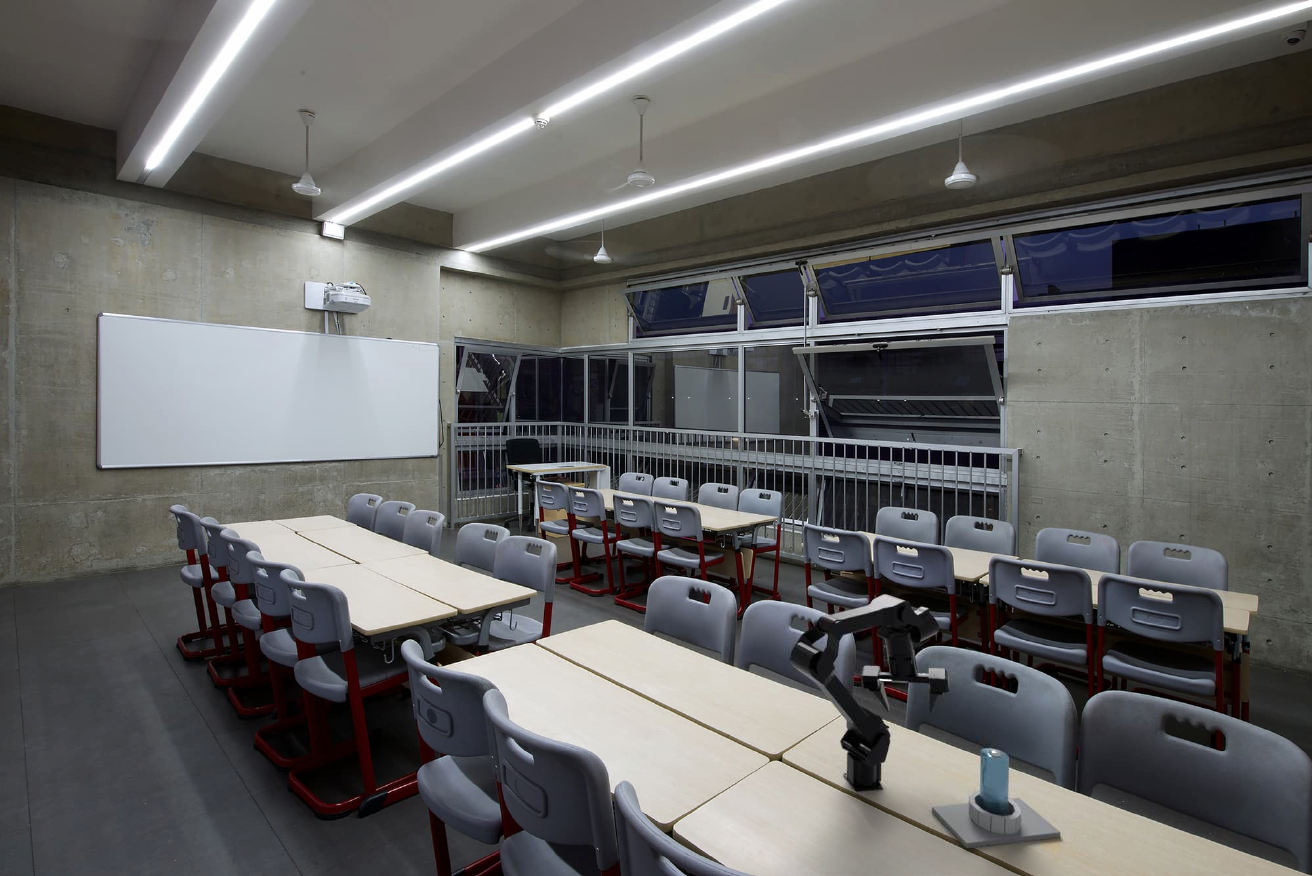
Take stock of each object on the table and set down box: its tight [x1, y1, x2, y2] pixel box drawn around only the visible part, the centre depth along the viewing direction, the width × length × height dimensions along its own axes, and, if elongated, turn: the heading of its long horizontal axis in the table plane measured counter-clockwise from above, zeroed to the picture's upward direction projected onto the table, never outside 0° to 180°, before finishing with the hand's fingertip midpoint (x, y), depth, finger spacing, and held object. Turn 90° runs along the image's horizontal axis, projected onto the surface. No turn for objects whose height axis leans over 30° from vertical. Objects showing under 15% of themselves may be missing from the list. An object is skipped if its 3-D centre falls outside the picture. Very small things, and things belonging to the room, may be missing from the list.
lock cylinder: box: [979, 747, 1010, 816], centre depth 124 cm, size 5×5×14 cm
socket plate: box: [931, 790, 1061, 849], centre depth 124 cm, size 20×11×4 cm, turn 99°
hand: (909, 712), depth 144 cm, fingers open, 9 cm apart
